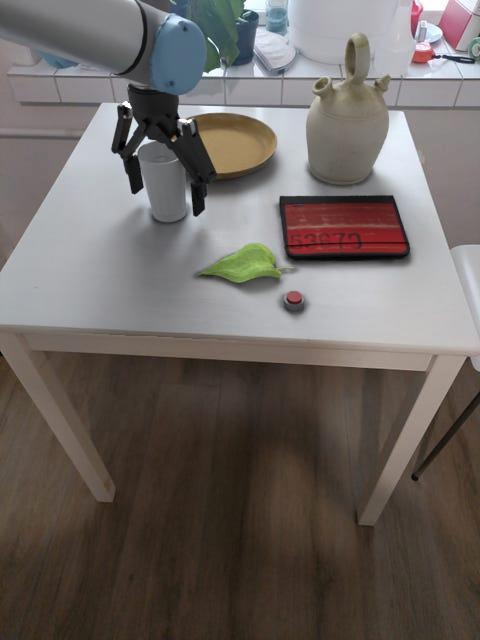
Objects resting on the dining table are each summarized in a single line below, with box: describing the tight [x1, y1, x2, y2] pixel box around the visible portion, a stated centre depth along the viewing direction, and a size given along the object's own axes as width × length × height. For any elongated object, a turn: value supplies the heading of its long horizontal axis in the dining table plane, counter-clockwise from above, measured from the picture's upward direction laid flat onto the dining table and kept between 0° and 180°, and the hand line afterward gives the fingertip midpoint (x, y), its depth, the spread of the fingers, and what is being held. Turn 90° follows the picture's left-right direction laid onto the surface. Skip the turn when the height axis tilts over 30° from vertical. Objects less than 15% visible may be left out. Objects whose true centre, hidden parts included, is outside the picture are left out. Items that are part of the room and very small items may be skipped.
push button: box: [283, 290, 305, 311], centre depth 74 cm, size 3×3×2 cm
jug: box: [305, 32, 392, 186], centre depth 90 cm, size 15×16×25 cm
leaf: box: [197, 242, 295, 284], centre depth 79 cm, size 9×16×2 cm, turn 92°
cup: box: [136, 140, 188, 223], centre depth 85 cm, size 8×8×12 cm
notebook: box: [278, 194, 411, 262], centre depth 85 cm, size 16×2×21 cm
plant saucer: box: [171, 112, 278, 180], centre depth 102 cm, size 24×24×3 cm
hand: (167, 201), depth 88 cm, fingers open, 13 cm apart
